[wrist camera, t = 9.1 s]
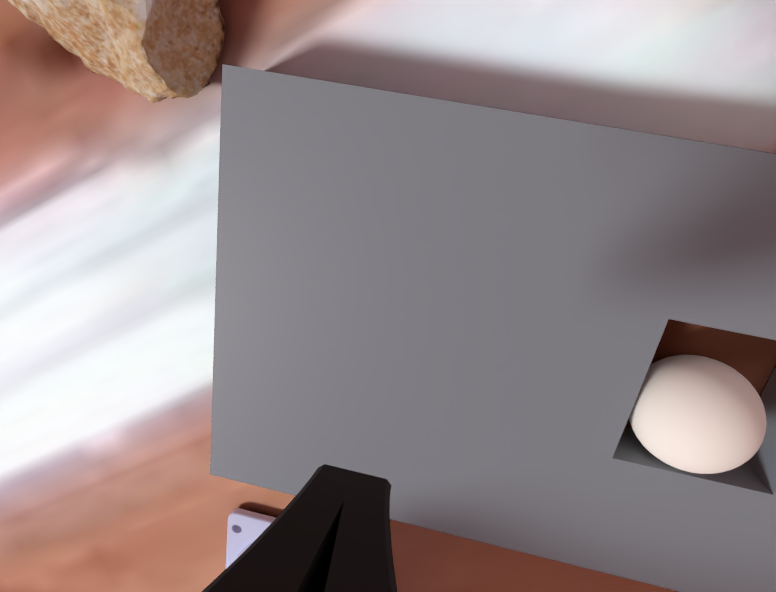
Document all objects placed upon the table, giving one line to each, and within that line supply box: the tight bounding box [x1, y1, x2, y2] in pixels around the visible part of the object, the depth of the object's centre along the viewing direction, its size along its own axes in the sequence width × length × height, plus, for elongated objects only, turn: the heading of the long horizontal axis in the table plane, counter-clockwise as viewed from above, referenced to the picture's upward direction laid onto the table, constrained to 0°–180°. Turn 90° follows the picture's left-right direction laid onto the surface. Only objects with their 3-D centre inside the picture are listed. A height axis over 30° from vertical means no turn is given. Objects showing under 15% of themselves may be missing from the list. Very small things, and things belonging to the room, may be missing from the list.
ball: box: [629, 355, 767, 474], centre depth 16 cm, size 4×4×4 cm
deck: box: [210, 64, 776, 592], centre depth 17 cm, size 16×24×2 cm, turn 81°
